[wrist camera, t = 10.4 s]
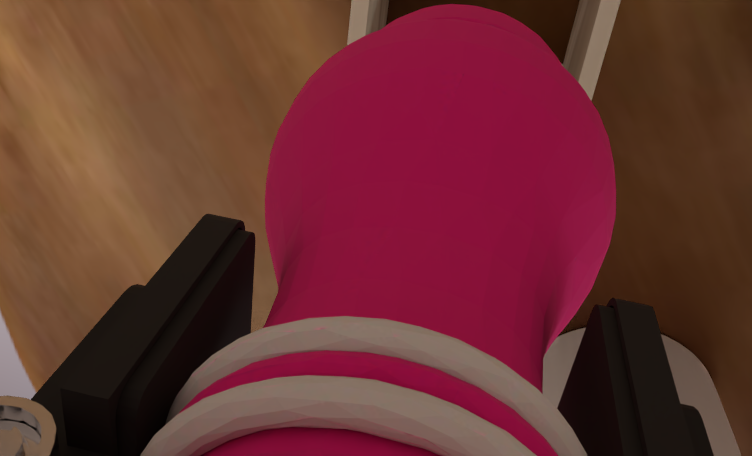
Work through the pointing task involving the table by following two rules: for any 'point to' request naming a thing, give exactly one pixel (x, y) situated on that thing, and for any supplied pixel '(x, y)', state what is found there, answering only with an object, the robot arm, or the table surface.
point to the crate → (582, 48)
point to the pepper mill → (416, 253)
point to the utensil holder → (686, 374)
